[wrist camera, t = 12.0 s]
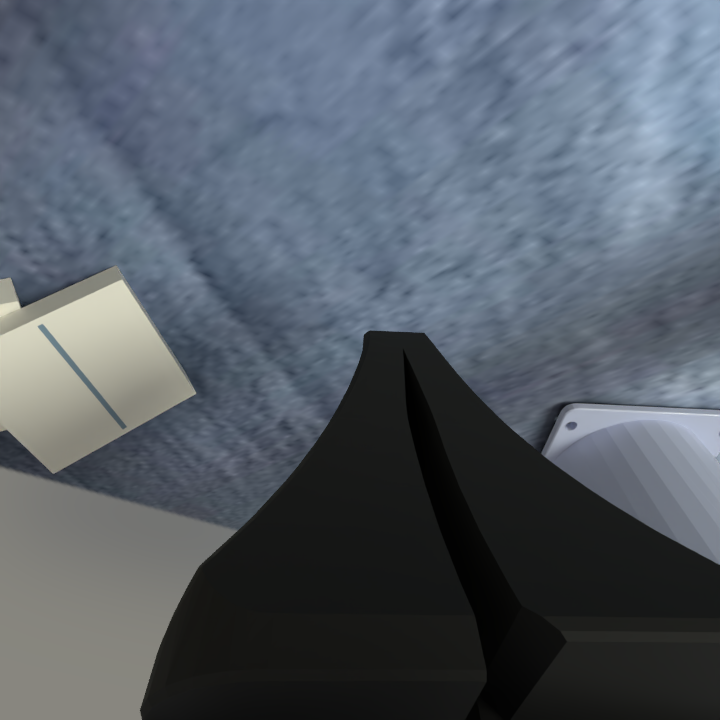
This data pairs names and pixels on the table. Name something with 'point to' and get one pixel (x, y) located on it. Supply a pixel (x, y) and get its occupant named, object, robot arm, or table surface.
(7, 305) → the domino
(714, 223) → the table surface
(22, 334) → the domino
